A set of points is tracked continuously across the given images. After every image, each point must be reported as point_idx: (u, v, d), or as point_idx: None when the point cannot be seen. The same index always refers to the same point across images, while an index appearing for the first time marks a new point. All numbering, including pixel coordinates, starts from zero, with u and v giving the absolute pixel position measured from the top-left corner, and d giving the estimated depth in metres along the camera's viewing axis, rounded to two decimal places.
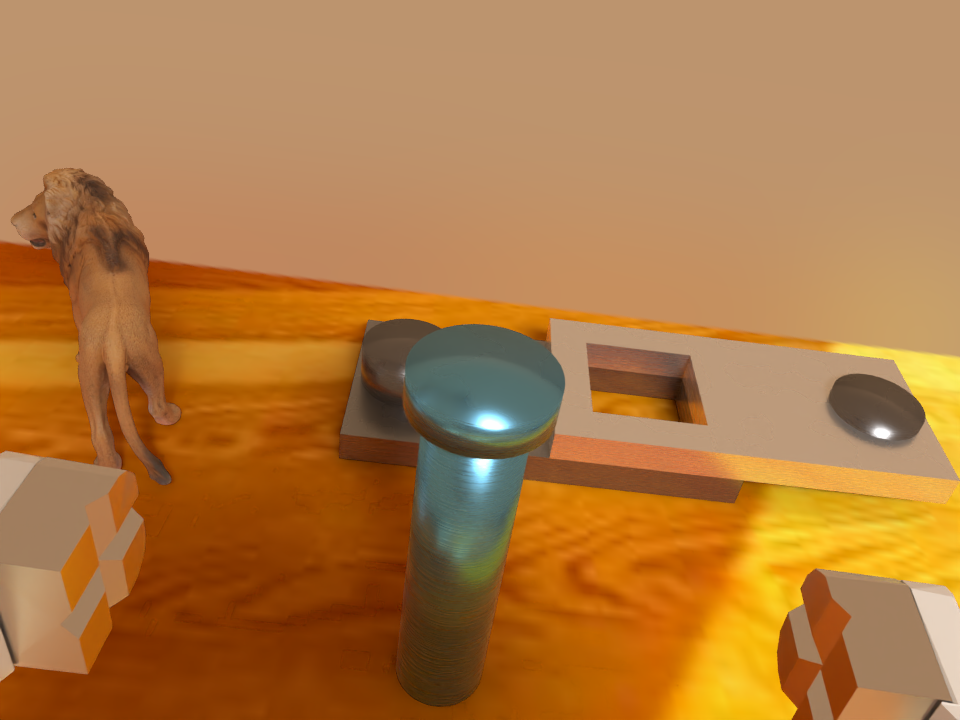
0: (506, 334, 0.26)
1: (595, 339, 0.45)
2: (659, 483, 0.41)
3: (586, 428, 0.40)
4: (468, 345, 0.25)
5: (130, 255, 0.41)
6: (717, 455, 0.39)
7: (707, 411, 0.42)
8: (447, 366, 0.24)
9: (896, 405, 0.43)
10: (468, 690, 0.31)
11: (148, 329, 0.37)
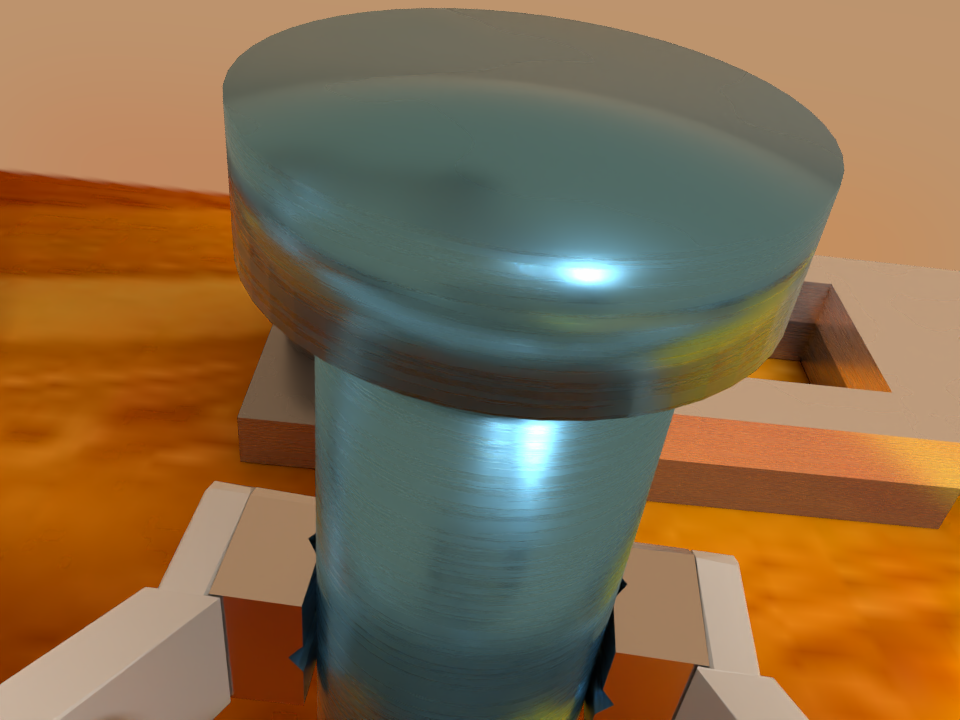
0: (590, 31, 0.08)
1: None
2: (809, 496, 0.23)
3: None
4: (468, 44, 0.07)
5: None
6: (921, 444, 0.22)
7: (883, 368, 0.24)
8: (391, 81, 0.06)
9: None
10: None
11: None
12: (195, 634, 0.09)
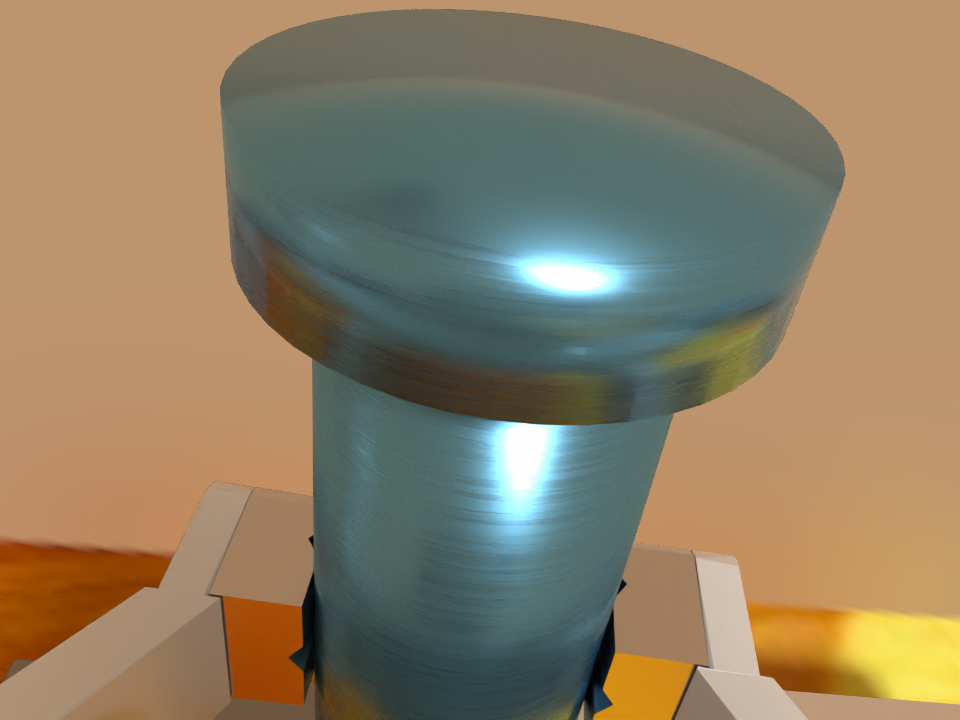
0: (590, 33, 0.08)
1: None
2: None
3: None
4: (467, 45, 0.07)
5: None
6: None
7: None
8: (389, 82, 0.06)
9: None
10: None
11: None
12: (195, 634, 0.09)
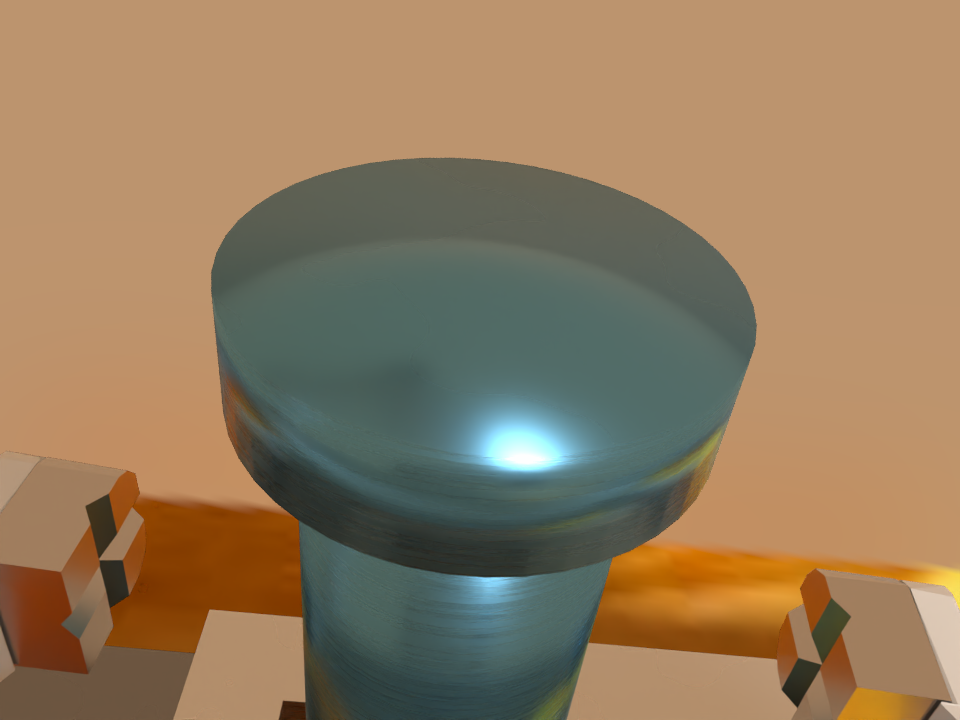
0: (545, 180, 0.09)
1: None
2: None
3: None
4: (433, 204, 0.08)
5: None
6: None
7: None
8: (360, 257, 0.07)
9: None
10: None
11: None
12: None
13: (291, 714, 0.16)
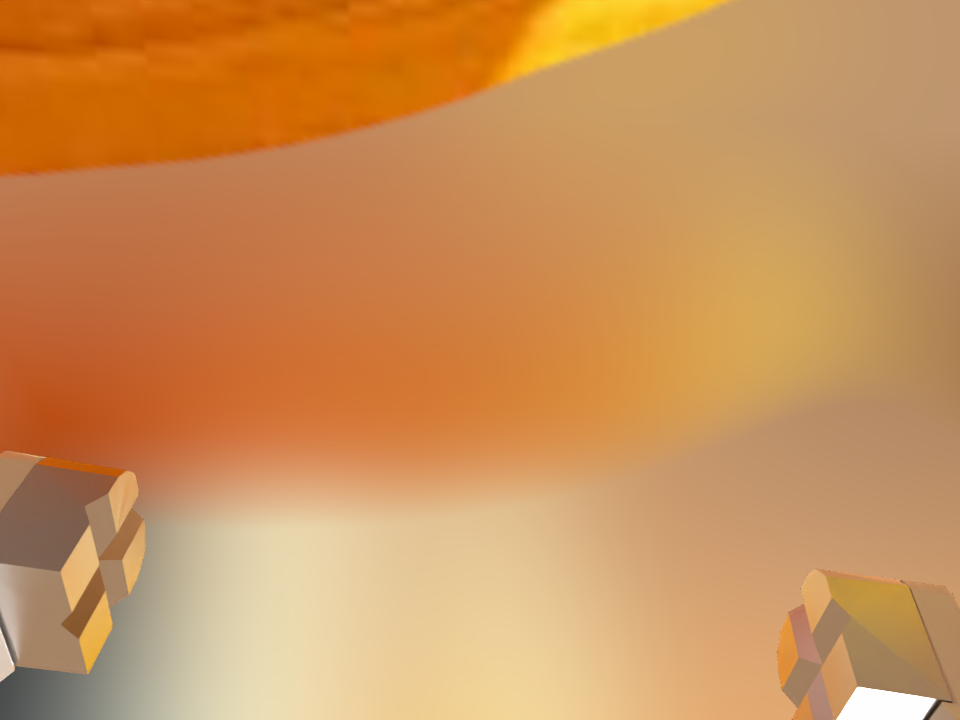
0: None
1: None
2: None
3: None
4: None
5: None
6: None
7: None
8: None
9: None
10: None
11: None
12: None
13: None
